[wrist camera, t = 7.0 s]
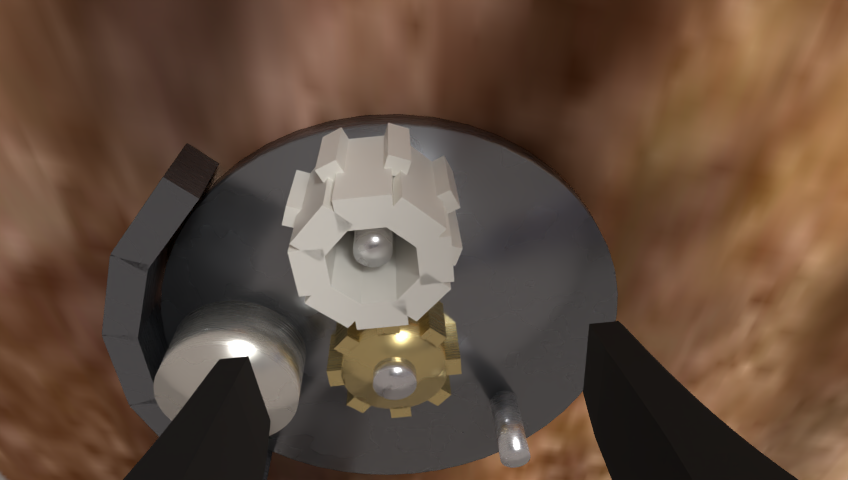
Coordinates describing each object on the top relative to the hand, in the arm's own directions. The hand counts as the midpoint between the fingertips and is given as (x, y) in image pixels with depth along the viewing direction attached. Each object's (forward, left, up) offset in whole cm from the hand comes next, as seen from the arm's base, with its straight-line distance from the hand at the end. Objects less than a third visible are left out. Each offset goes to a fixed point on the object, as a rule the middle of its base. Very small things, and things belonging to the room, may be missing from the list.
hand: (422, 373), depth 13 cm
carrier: (-3, +6, -10) cm, 12 cm away
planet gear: (+1, +1, -9) cm, 9 cm away
